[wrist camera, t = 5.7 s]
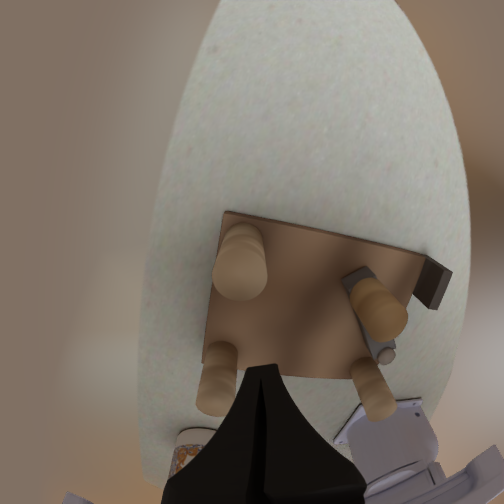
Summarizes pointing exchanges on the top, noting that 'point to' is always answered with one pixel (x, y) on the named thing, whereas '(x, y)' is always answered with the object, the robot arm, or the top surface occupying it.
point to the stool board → (301, 307)
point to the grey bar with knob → (375, 313)
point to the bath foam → (188, 447)
